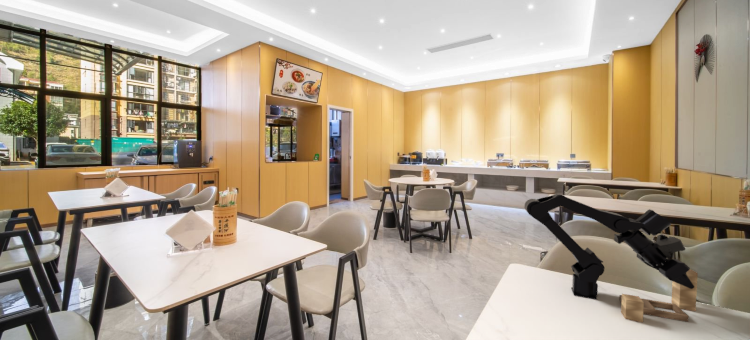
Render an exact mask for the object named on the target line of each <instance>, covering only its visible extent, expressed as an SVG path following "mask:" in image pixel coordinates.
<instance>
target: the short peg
mask: <svg viewBox="0 0 750 340" xmlns="http://www.w3.org/2000/svg"><path fill="white" fill-rule="evenodd" d="M621 295H622V303H621V307H620V312H621V315H622V316H623V319H625V320H629V321H633V322H639V323H643V322H644V314H643V306H644V302H643V301H642V300H641V299H640V298H641V297H640V296H637V295H633V294H632V295H631V294H626V293H621Z"/></svg>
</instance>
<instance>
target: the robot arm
mask: <svg viewBox="0 0 750 340" xmlns="http://www.w3.org/2000/svg"><path fill="white" fill-rule="evenodd" d="M523 207H524V209H525V211H526V213H527V214H528V215H529V216H531V217H532V218H533V219H535V220H536V221H537V222H539V223H541V224H542V225H543V226H545V228H546V229H548V231H550V233H551V234H553V236H554V237H555V238H557V240H559V242H560V243H561V244H562V245H563V246H564V247H565V248H566V249H567V250H568V251H569V252H570V253H571V254H572V256H573V257H574V259H575V261H576V262H575V263H574V264H572V265H571V266H570V267H571V270H572V272H573V273H572V287H571V291H572V295H573V296H575V297H580V298H587V299H592V300H597V299H598V298H597V297H598V289H599V288H598V287H599V285H598V283H597V282H598V280H599V278H600V276H602V275H603V274H604V272H605V266H604V264H603V263H604V261H603V260H602V259H601V258H599V256H597V255H596V253H595V252H594V251H593V250H591V249H590V248H589V247H586V248H585V249H584V248H582V247H581V246H580V245H579V244H578V243H577V242H576V241H575V240H574V239H573V238H572V237H571V236H570V235H569V234H568V233H567V232H566V231H565V230H564V229H563V228H562V227H561V226H560V224H558V223H557V221H556V220H554V218H553V216H551V214H550V211H552V210H555V209H556V208H561V207H562V208H564V209H567V210H570V211H572V212H574V213H577V214H579V215H582V216H584V217H586V218H590V219H592V220H593V221H596V222H597V223H600V225H603V226H604V227H606V228H607V229H610V230H611V231H613V232H614V234H613V236H614V238H613V241H614V242H615V243H617V244H619V245H620V244H622V243H623V242H624V243H625V244H626V245H627V246H628V247H630V249H632V251H633V252H634V253H635V254H636V258H637V259H638V260H640V261H641V262H642V263H644V264H645V265H647V266H648V267H651V268H653V269H655V270H656V271H658V273H660V275H662V276H663V277H665V278H666V279H668V280H669V281H671V282H673V281H674V282H676V283H678V284H681V285H683V286H685V287H688V288H690V289H693V288H694V285H693V284H692V282H691V281H690V279H689V278H688V276H687V274H686V272H688V270H690V266H688V264H686V263H685V262H683V261H681V260H679V259H677V258H671V259H670V257H672V255H671V254H673V253H677V252H683V251H686V247H685V246H684V244H683V242H682V240H681V239H680V238H678V237H675V236H667V235H665V234H663V233H662V232H663V231H664V230H666V229H667V228H668V227H671V225H672V223H671V222H670V221H669V220H668V219H667V218H665V217H663V216H661V215H660V214H658V213H657V212H655V210H653V209H651V208H649V209H647V210H646V211H645V212H644V213H643V214H642V215H640V216H638V218H637V219H633V218H631V217H626V216H624V215H621V214H619V213H616V212H612V211H606V210H603V209H597V208H595V207H593V206H589V205H587V204H585V203H582V202H579V201H577V200H575V199H572V198H569V197H567V196H565V195H564V194H561V193H554V194H552V195H549V196H543V197H541V198H540V197H539V198H537V199H536V198H528V199H527V200H526V201H525V203H524V206H523ZM660 233H662V234H660ZM647 236H653V237H654V236H655V237H656V236H657V238H656V241H653V240H651V239H650V238H648V237H647Z"/></svg>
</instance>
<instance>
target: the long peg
mask: <svg viewBox="0 0 750 340" xmlns="http://www.w3.org/2000/svg"><path fill="white" fill-rule="evenodd" d="M686 274H687V276H688V278H689V279H690V281H691V282H692V284H693V285H694V288H693V289H690V288H688V287H685V286H683V285H681V284H678V283H676V282H674V281H671V283H672V285H671V286H672V288H671V302H670V303H672V304H676V305H677V306H678V307H679V308H680V309H681V310H687V311H692V312H693V311H695V312H696V311H697V310H696V309H697V308H696V307H697V294H698V293H697V292H698V272H697V271H695V270H693V269H690V270H688V272H686Z"/></svg>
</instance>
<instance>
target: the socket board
mask: <svg viewBox="0 0 750 340" xmlns="http://www.w3.org/2000/svg"><path fill="white" fill-rule="evenodd" d="M640 299H641V300H642V301H643V302H644V306H643V315H648V316H649V315H650V316H655V317H660V318H666V319H671V320H675V321H676V320H677V321H682V322H689V315H687V314H686V313H685V312H684V311H683V309H680V308H679V307H678V306H677V305H676V304H672V303H671V302H665V301H659V300H653V299H648V298H647V299H646V298H641V297H640ZM619 302H621V304H622V294H619ZM656 308H660V309H656ZM661 309H662V310H661ZM663 309H666V310H672V312H671V311H666V310H663Z"/></svg>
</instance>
